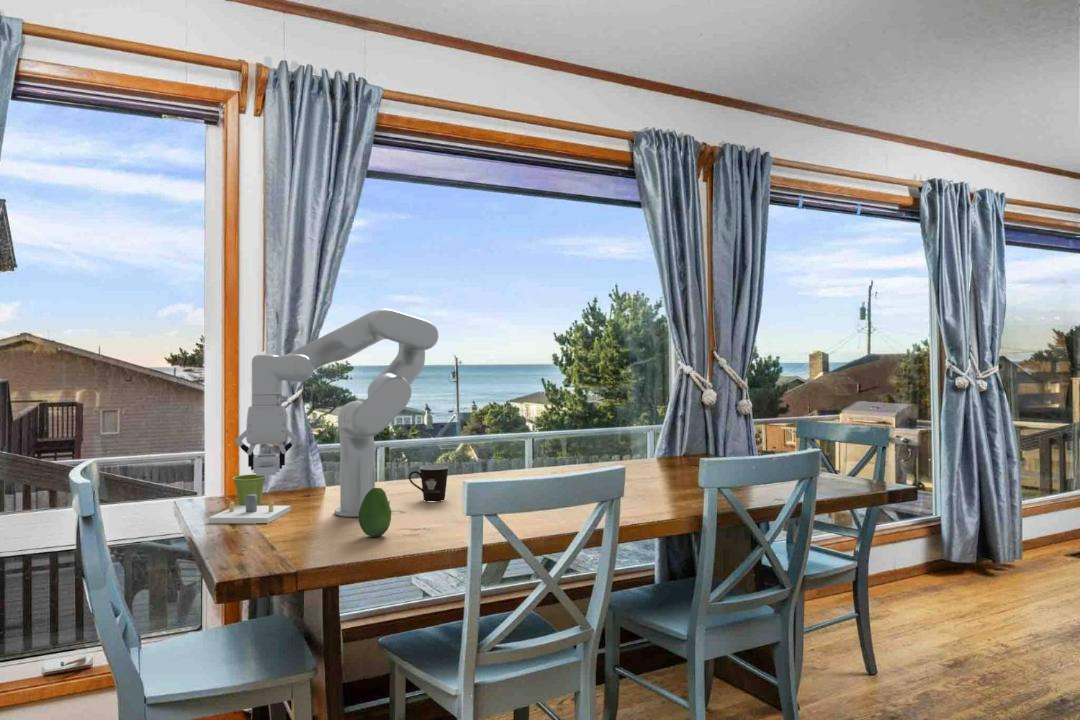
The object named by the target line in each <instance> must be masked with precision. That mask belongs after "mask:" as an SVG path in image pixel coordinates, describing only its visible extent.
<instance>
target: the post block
mask: <svg viewBox="0 0 1080 720" xmlns="http://www.w3.org/2000/svg"><path fill="white" fill-rule="evenodd" d="M228 504H229V507H228V508H227V509H225V510H223V511H221V512H218V513H216V514H214V515H211V516H209V517H208V524H256V523H268V524H270V523H272V522H273V520H274V521H275V520H277V519H279V518H281V517H282V515H283V516H284V515H286V514H288V513H290V512H291V511H292V510H291V509H292V506H291V505H274V502H273V501H271V502H268V505H259V506H257V495H256V494H249V495H246V506H244V505H239V504H238V505H235V502H234V501H230V502H229V503H228ZM289 511H290V512H289ZM287 512H288V513H287ZM285 513H286V514H285ZM280 516H281V517H280ZM271 521H272V522H271ZM269 522H270V523H269Z"/></svg>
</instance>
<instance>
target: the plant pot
mask: <svg viewBox="0 0 1080 720" xmlns="http://www.w3.org/2000/svg"><path fill="white" fill-rule="evenodd" d="M267 476H268V475H264V476H256V473H253V474H243V475H242V474H241V475H235V476H233V477H232V480H233V482H234V485H235V490H236V495H237V502H238V505H244V506H246V495H249V494H256V495H257V506H262V500H263V499H262V498H263V493H264V492H263V491H264V484H265V482H266V478H267Z"/></svg>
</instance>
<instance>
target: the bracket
mask: <svg viewBox="0 0 1080 720" xmlns="http://www.w3.org/2000/svg"><path fill="white" fill-rule="evenodd" d="M280 470H281V469H280V456H279V453H271V454H270V453H269V454H268V453H267V454H254V458H253V470H252V471H253V472H252V473H253V474H256V476H264V475H266V476H277V473H280Z"/></svg>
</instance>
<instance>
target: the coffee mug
mask: <svg viewBox="0 0 1080 720" xmlns="http://www.w3.org/2000/svg"><path fill="white" fill-rule="evenodd" d="M419 469H420V471H411V472H410V473H409V474H408V481H409V482H410V483H411V485H412V486H413V487H415V488H416V489H418V490H419V491H421V493H422V495H423V497H422V498H423V501H424V500H425V501H424V502H426V501H440V502H442V501H441V500H444V499H446V490H447V481H448V473H449V466H445V465H426V466H421V467H419ZM413 474H417V475H418V477H420V479H421V487H420V486H419V485H417V484H416V483H414V481H413V480H412V479H411V478H412V477H411V476H412V475H413ZM444 501H445V500H444Z"/></svg>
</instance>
